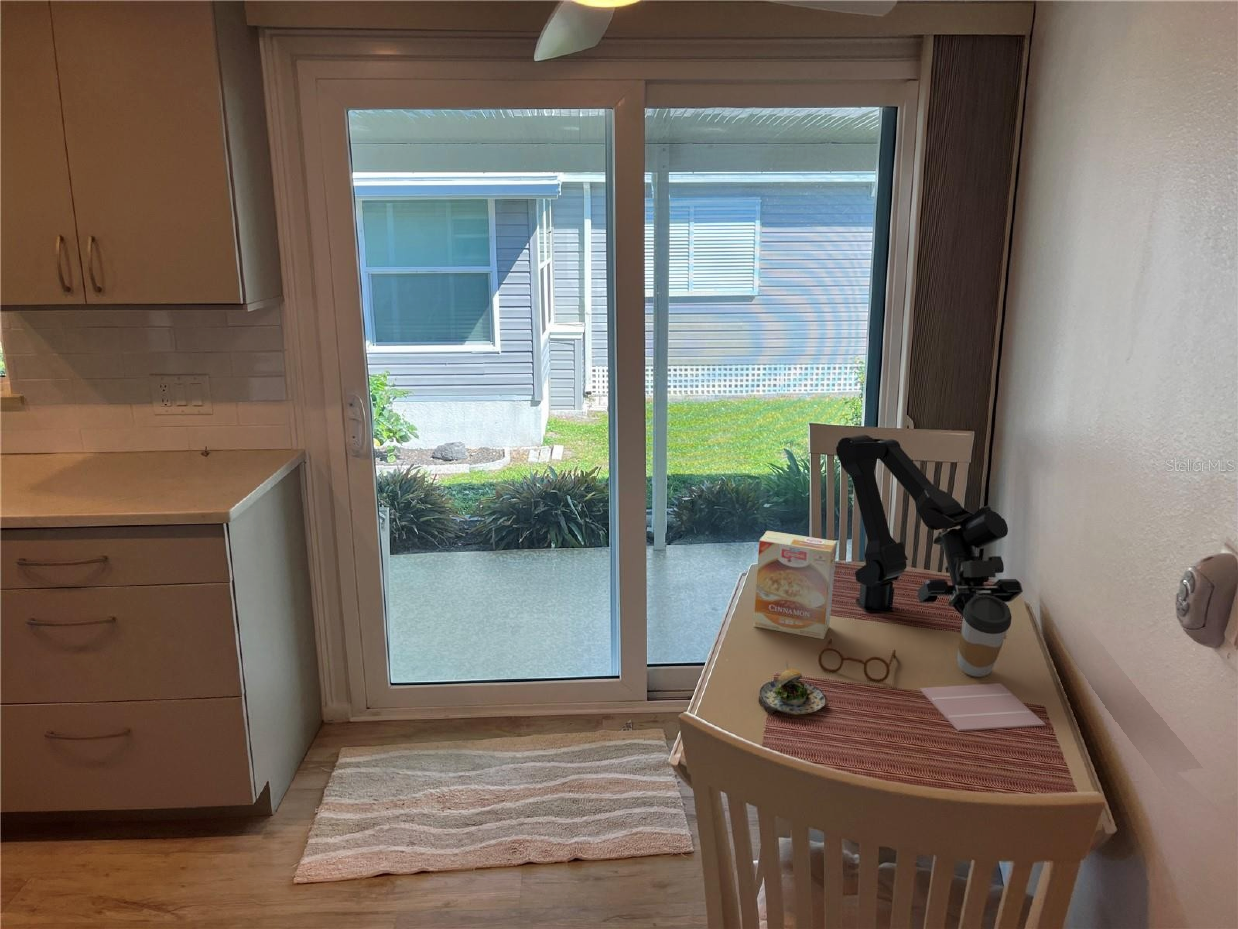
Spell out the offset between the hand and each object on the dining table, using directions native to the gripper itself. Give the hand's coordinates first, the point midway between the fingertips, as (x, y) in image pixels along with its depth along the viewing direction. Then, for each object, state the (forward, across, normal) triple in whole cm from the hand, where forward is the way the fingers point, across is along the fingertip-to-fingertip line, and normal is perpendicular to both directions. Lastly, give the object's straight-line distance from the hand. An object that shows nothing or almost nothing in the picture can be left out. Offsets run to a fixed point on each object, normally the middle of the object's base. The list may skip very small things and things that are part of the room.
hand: (979, 633), depth 170 cm
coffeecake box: (-8, -31, +19) cm, 37 cm away
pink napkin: (+15, -5, -4) cm, 16 cm away
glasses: (+3, -22, +9) cm, 24 cm away
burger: (+14, -38, -2) cm, 41 cm away
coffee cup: (+5, 0, +5) cm, 7 cm away
